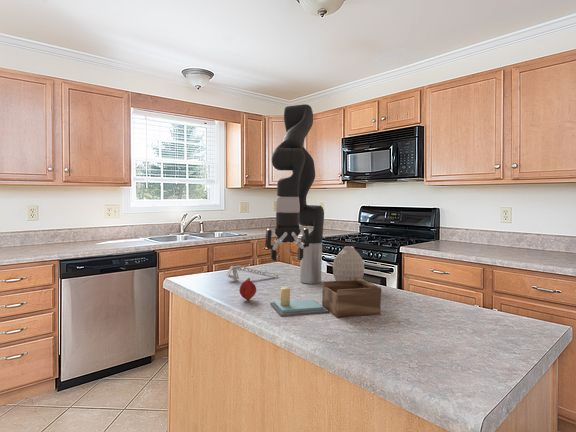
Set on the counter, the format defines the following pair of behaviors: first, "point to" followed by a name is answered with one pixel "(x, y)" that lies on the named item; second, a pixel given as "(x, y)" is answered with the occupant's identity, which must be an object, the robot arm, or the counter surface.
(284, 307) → the thin pale-blue panel
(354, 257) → the vase
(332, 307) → the box
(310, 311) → the mat
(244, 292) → the red oval lump
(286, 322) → the counter surface
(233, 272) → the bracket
